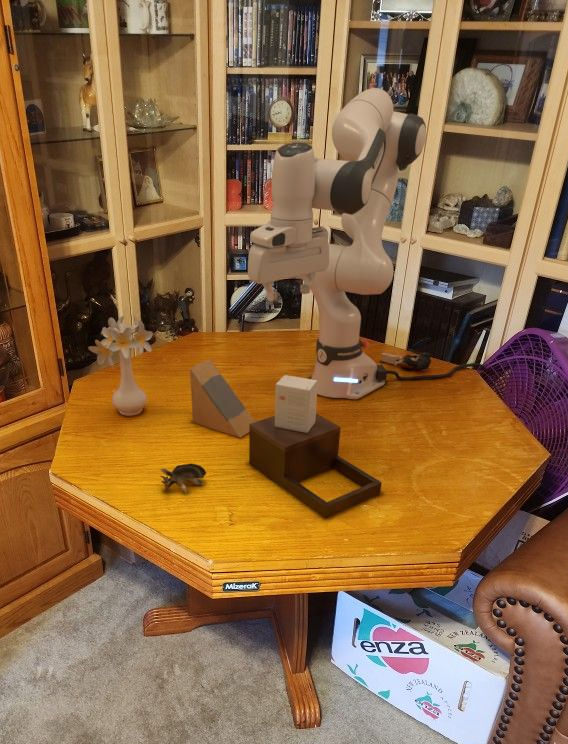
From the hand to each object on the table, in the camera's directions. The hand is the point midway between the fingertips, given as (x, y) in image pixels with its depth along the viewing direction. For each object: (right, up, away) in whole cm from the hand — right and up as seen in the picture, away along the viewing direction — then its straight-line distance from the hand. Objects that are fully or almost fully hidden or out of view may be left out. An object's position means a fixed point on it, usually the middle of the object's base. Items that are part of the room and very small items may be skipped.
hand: (288, 296), depth 147 cm
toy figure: (+39, -4, +57) cm, 69 cm away
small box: (+2, -28, +2) cm, 29 cm away
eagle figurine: (-23, -43, 0) cm, 49 cm away
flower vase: (-40, -22, +30) cm, 55 cm away
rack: (+6, -40, +3) cm, 41 cm away
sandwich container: (-15, -25, +25) cm, 39 cm away
